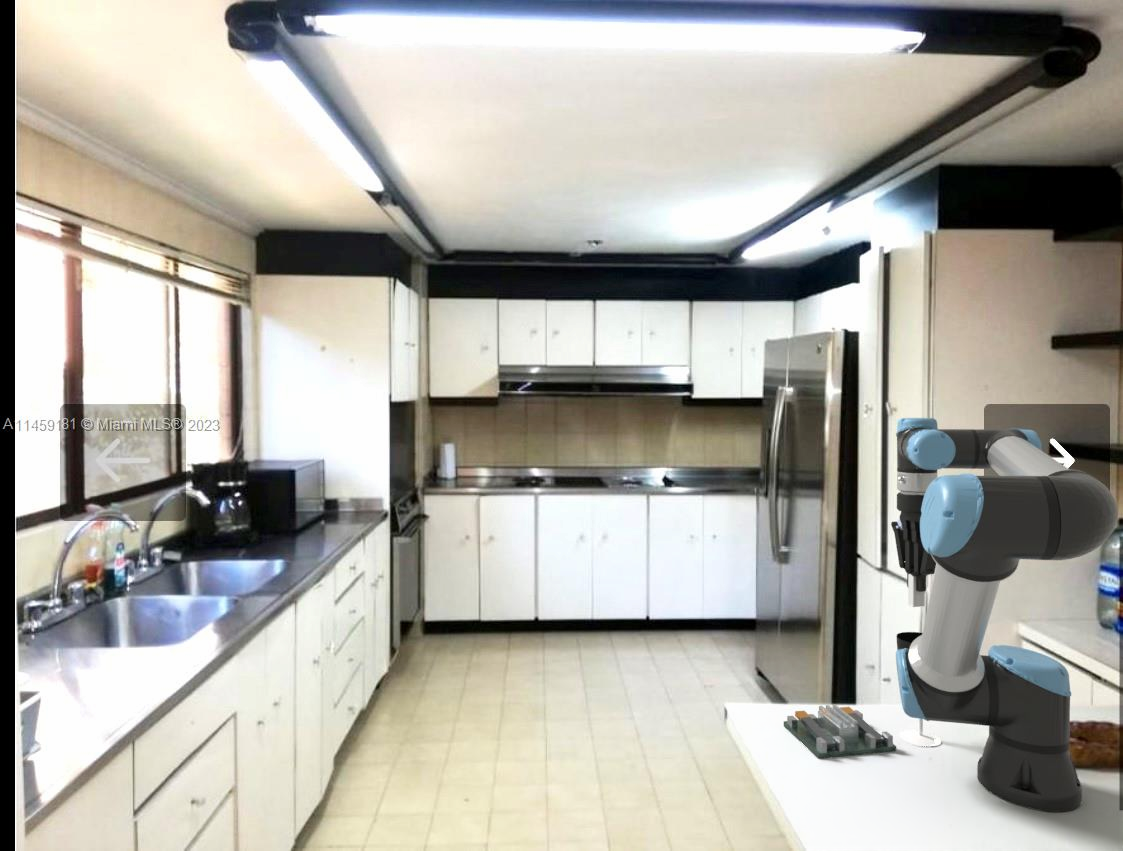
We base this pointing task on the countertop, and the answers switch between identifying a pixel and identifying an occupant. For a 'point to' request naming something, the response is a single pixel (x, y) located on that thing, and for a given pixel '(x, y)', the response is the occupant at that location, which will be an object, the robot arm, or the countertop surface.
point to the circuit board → (838, 735)
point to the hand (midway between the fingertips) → (916, 605)
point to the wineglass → (918, 735)
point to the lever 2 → (863, 725)
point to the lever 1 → (814, 728)
